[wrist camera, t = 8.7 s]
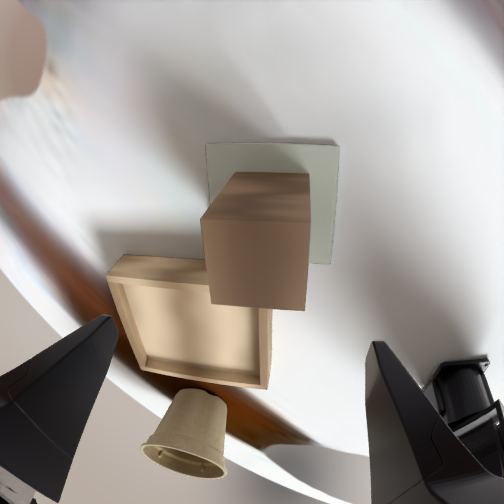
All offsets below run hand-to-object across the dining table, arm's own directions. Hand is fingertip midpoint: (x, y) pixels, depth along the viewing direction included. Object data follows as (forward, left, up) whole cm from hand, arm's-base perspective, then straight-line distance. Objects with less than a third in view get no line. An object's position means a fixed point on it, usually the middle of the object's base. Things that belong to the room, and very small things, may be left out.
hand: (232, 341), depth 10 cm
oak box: (+6, +10, -12) cm, 17 cm away
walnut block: (0, 0, -11) cm, 11 cm away
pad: (0, 0, -12) cm, 12 cm away
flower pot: (+8, +25, -12) cm, 28 cm away
